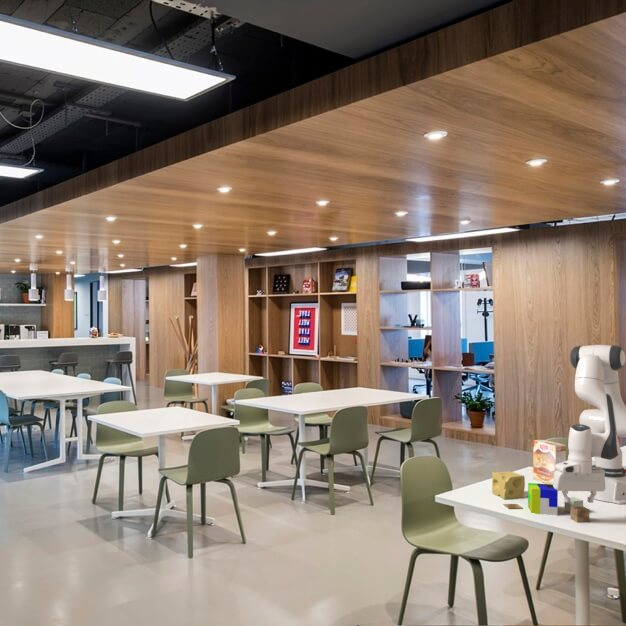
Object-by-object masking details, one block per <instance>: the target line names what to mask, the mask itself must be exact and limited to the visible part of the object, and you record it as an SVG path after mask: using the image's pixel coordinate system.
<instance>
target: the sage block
mask: <svg viewBox="0 0 626 626" xmlns="http://www.w3.org/2000/svg"><path fill="white" fill-rule="evenodd" d="M570 498H571V499H570V502H565V501H564V506H563V507H564V509H563V510H564V511H565V512H569V513H571V506H584V500H583V499H580V498H578V497H575V496H573V497H570Z"/></svg>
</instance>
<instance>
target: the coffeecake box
mask: <svg viewBox="0 0 626 626" xmlns="http://www.w3.org/2000/svg"><path fill="white" fill-rule="evenodd" d="M532 455H533V460H532V462H533V463H532V468H533V469H532V480H534V479H535V481H537V482H540V481H541V483H543V482H544V483H543V484H546V483H547V484H552V485H553V477H554V473H555V471H557V469H556V468H555V465H556V464H558V463H561V462H564V461H567V458H566V457H567V445H566V444H562V443H559V442H554V441H550V440H548V439H547V440H546V439H535V440H533V454H532Z"/></svg>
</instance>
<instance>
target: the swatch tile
mask: <svg viewBox="0 0 626 626" xmlns="http://www.w3.org/2000/svg"><path fill="white" fill-rule="evenodd" d="M502 506H504V507H505V508H507V509H508V510H524V507H523V506H521V505H520V504H518V503H503V505H502Z"/></svg>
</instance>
